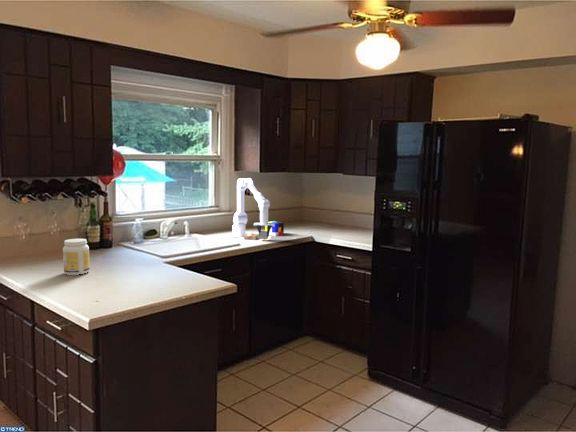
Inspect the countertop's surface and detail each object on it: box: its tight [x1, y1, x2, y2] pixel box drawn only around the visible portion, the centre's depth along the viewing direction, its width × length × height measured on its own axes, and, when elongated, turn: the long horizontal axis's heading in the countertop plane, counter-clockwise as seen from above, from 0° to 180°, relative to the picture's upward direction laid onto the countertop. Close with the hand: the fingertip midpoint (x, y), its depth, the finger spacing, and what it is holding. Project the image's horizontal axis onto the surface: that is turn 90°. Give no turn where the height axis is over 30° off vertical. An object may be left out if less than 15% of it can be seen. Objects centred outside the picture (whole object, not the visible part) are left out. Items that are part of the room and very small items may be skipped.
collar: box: [243, 233, 259, 241], centre depth 338 cm, size 8×8×3 cm
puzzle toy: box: [264, 220, 285, 237], centre depth 357 cm, size 10×10×10 cm
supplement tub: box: [62, 238, 91, 276], centre depth 237 cm, size 12×12×17 cm
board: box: [259, 236, 272, 242], centre depth 338 cm, size 8×20×1 cm, turn 172°
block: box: [259, 230, 269, 240], centre depth 332 cm, size 5×5×5 cm
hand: (264, 236), depth 332 cm, fingers closed on block, 5 cm apart
